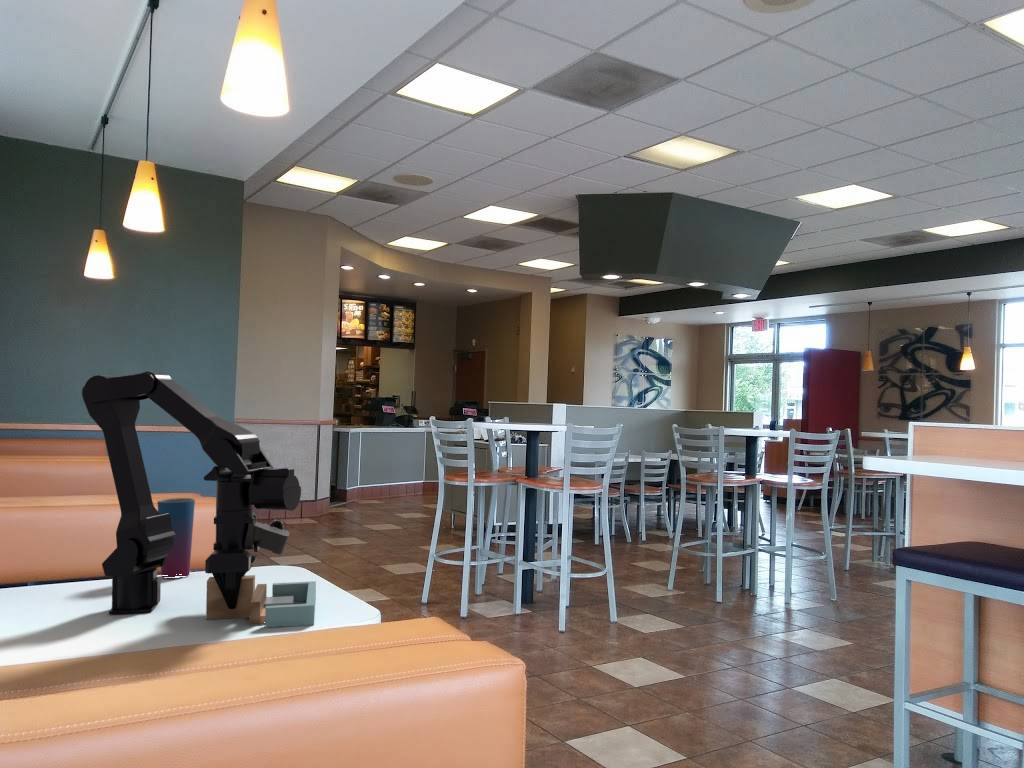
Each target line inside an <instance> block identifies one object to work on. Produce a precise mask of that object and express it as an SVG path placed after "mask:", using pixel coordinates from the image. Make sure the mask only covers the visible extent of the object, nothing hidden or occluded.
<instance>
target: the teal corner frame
mask: <svg viewBox="0 0 1024 768" xmlns="http://www.w3.org/2000/svg"><path fill="white" fill-rule="evenodd" d="M316 587H317V581H316V580H314V581H312V580H311V581H291V582H275V583H272V591H271V592H272V594H271V595H272V596H271V597H279V596H294V602H306V603H300V604H299V603H298V604H295V603H294V605H277V606H266V608H265V624H264V625H265V626H264V628H265V629H269V628H268V627H272V628H277V627H276V626H288V627H298V626H299V627H301V626H302V627H303V626H314V625H315V615H316V612H315V611H316V603H317V602H316V600H317V598H316V597H317V590H316Z"/></svg>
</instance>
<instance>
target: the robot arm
mask: <svg viewBox="0 0 1024 768" xmlns="http://www.w3.org/2000/svg"><path fill="white" fill-rule="evenodd" d="M81 397H82V401H83V403H84V405H85V406H84V407H85V408H86V410H87V413H88V416H89V417H90V418H91V419H92V420H93V421H94V422H95V424H97V426H98V427H99V428H100V429H101V430H102V434H103V439H104V442H105V446H106V451H107V456H108V460H109V464H110V465H109V466H110V469H111V475H112V478H113V483H114V487H115V492H116V495H117V500H118V504H119V509H120V518H119V521H118V525H117V528H116V532H115V538H116V539H115V541H116V548H115V549H114V550H113V551H112V552H111V554H109V555H108V556H107V557H106V559H105V560H104V561H102V563H101V566H102V570H103V574H104V576H105V577H111V585H112V586H111V608H110V609H109V610H108V614H109V615H113V614H115V615H117V614H133V613H134V614H137V613H150V612H152V611H154V609H155V608H156V607H157V606H158V605H159V604H160V602H161V580H162V579H161V578H162V577H159V576H158V568H161V567H163V566H164V563H165V560H166V558H167V555H168V554H169V553H170V551H171V549H172V548H173V544H174V543H173V537H174V536H176V534H175V533H174V531H173V529H172V525H171V517H170V515H169V513H166V514H160V513H159V512H158V508H156V507H155V505H154V502H153V498H152V494H151V488H150V486H149V485H150V484H149V480H148V476H147V471H146V467H145V462H144V459H143V454H142V449H141V446H140V442H139V441H140V440H139V438H138V433H137V429H136V421H137V419H138V415H139V413H140V409H141V406H140V405H141V404H140V401H141V402H142V401H146V400H149V399H150V400H151V401H152V402H153V403H155V405H157V406H158V407H159V408H161V409H162V410H163V411H164V412H166V413H167V414H168V415H169V416H170V417H172V418H173V419H174V420H176V422H178V423H179V424H180V425H181V426H182V427H184V428H185V429H187V430H188V431H189V432H191V434H193V435H194V437H196V439H197V440H198V441H199V443H200V447H201V448H202V451H203V452H204V454H206V455H207V456H208V458H209V459H210V460H211V462H212V463H213V464H214V466H213V468H212V469H211V470H210V471H209V472H208V473H206V474H205V475H204V476H203V480H204V481H205V482H206V481H208V482H215V483H216V484H215V486H216V487H215V516H214V517H213V525H215V541H214V542H213V549H212V550H213V551H212V553H210V555H208V557H207V558H206V559H205V560H204V561H205V562H204V563H205V566H204V570H205V571H204V573H205V574H212V577H214V578H215V580H216V582H217V584H218V586H219V589H220V591H221V593H222V595H223V597H224V599H225V602H226V604H227V606H228V608H229V609H235V608H236V606H237V601H238V596H239V591H240V586H241V581H242V576H246V574H247V573H248V572H249V571H250V570H251V569H252V567H253V563H254V562H255V560H256V559H257V556H256V555H252V554H251V553H250V552H249V550H253V551H254V553H258V552H259V550H260V548H261V549H265V550H267V551H270V552H272V553H273V554H276V555H282V554H283V553H284V550H285V547H286V545H287V542H288V539H289V537H290V531H288V530H287V529H285V528H284V522H283V521H282V520H279V519H276V518H274V519H273V521H271V522H270V523H269V524H268V523H262V522H258V521H257V517H258V516H257V514H256V513H255V512H254V508H255V509H256V510H259V511H283V512H286V511H287V512H290V511H291V512H293V511H294V510H296V508H297V507H298V505H299V503H300V500H301V497H302V496H301V495H302V487H301V486H300V481H299V479H298V477H297V476H296V475H295V468H294V467H283V468H274V466H273V465H272V463H271V462H270V460H269V459H268V458H267V456H266V454H265V453H264V451H263V450H262V448H261V446H260V439H259V438H258V436H257V435H256V434H255V433H254V432H252V431H250V430H249V429H247V428H244V427H243V426H241V425H239V424H236V423H233V422H231V421H228V420H225V419H224V418H222V417H220V416H218V415H217V414H216V413H214V412H213V411H212V410H210V409H209V407H207V406H206V405H205V404H203V403H202V402H201V401H199V399H197V398H196V397H194V396H193V395H192V394H190V393H189V392H188V391H187V390H186V389H184V388H183V387H182V386H180V384H178V383H177V382H175V380H173V378H172V377H171V376H170V375H169V374H167V373H166V372H161V371H147V370H146V371H143V372H141V373H136V374H131V375H122V376H121V375H105V374H104V375H103V374H102V375H100V374H99V375H93V376H91V377H90V378H89V379H88V380H86V382H85V384H84V385H83V386H82V388H81Z"/></svg>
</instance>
